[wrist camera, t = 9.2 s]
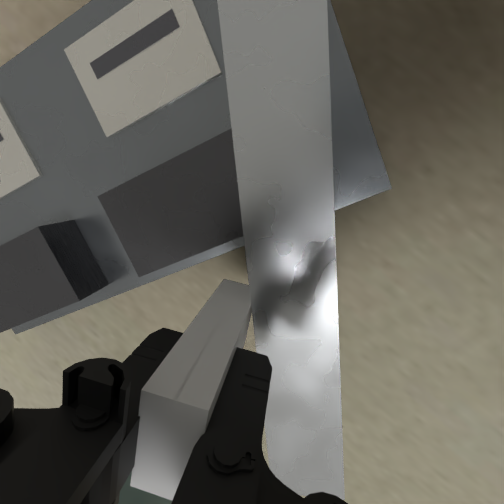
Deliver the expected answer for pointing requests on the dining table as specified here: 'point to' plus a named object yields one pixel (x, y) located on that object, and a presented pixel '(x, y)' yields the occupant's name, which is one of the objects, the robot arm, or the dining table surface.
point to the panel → (135, 154)
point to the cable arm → (289, 226)
